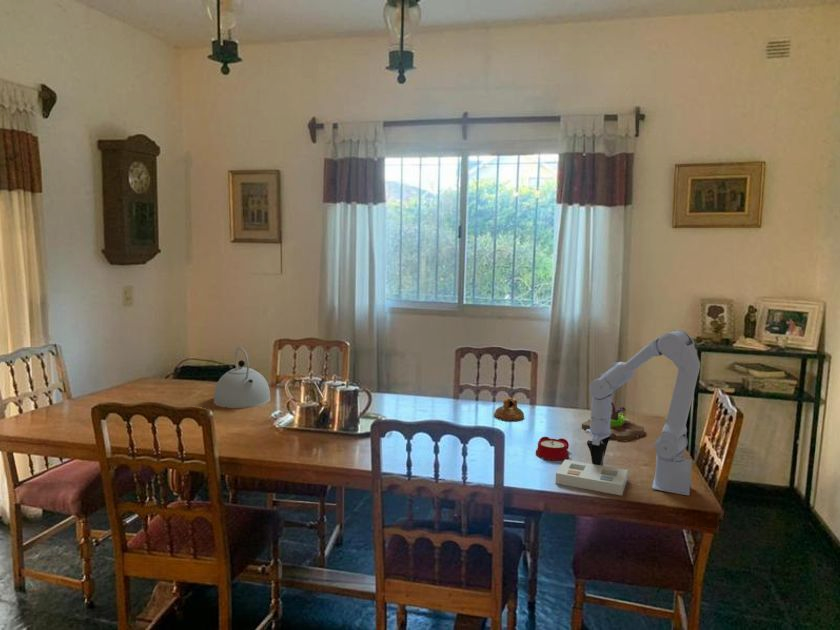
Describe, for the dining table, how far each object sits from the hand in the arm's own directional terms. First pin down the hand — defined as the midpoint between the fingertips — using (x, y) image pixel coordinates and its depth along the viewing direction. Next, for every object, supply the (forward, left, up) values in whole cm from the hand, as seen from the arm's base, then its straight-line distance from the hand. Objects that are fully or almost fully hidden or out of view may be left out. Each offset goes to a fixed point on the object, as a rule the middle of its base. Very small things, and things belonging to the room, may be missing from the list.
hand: (598, 461), depth 181 cm
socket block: (0, +11, -2) cm, 11 cm away
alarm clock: (+15, -7, -3) cm, 17 cm away
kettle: (+145, -8, -3) cm, 145 cm away
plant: (+1, -41, -3) cm, 41 cm away
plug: (0, 0, -2) cm, 2 cm away
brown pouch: (+40, -40, -3) cm, 56 cm away
